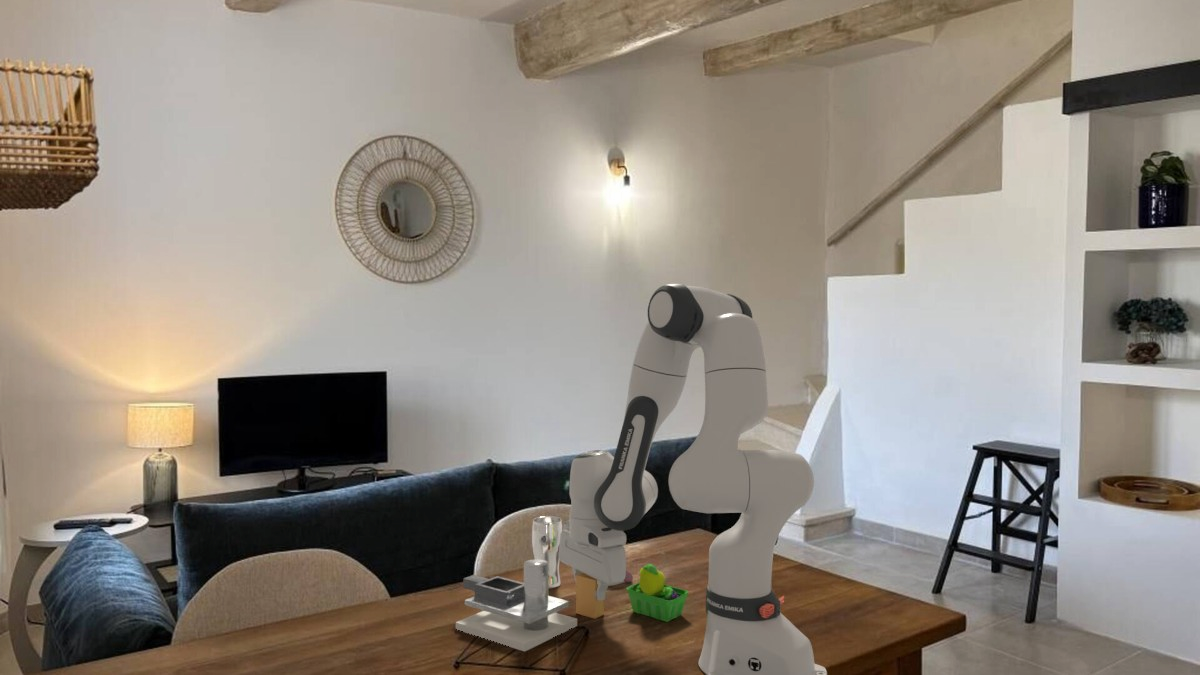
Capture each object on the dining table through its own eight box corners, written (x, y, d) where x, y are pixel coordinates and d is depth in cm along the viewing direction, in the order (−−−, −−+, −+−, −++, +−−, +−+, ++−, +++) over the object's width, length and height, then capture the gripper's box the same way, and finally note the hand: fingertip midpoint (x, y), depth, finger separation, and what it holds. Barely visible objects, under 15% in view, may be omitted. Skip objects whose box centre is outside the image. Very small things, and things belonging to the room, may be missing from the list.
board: (577, 625, 180) (577, 618, 180) (524, 651, 167) (524, 643, 167) (509, 606, 191) (509, 599, 191) (455, 629, 178) (455, 622, 178)
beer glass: (558, 590, 201) (558, 524, 200) (528, 588, 203) (528, 522, 202) (565, 580, 208) (565, 516, 207) (536, 578, 209) (536, 515, 209)
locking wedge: (603, 614, 187) (604, 576, 186) (595, 618, 184) (595, 580, 184) (584, 609, 189) (584, 571, 189) (576, 613, 187) (576, 575, 187)
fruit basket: (690, 615, 187) (690, 561, 186) (665, 627, 180) (666, 571, 179) (646, 602, 194) (646, 551, 193) (620, 614, 187) (621, 560, 186)
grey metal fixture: (569, 621, 179) (569, 559, 178) (529, 639, 169) (529, 574, 168) (488, 598, 191) (488, 540, 191) (447, 614, 182) (447, 553, 181)
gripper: (551, 519, 193) (551, 583, 193) (605, 542, 176) (605, 611, 177) (576, 515, 196) (576, 578, 197) (631, 537, 179) (631, 605, 180)
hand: (590, 594), depth 187 cm, fingers closed on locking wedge, 6 cm apart
